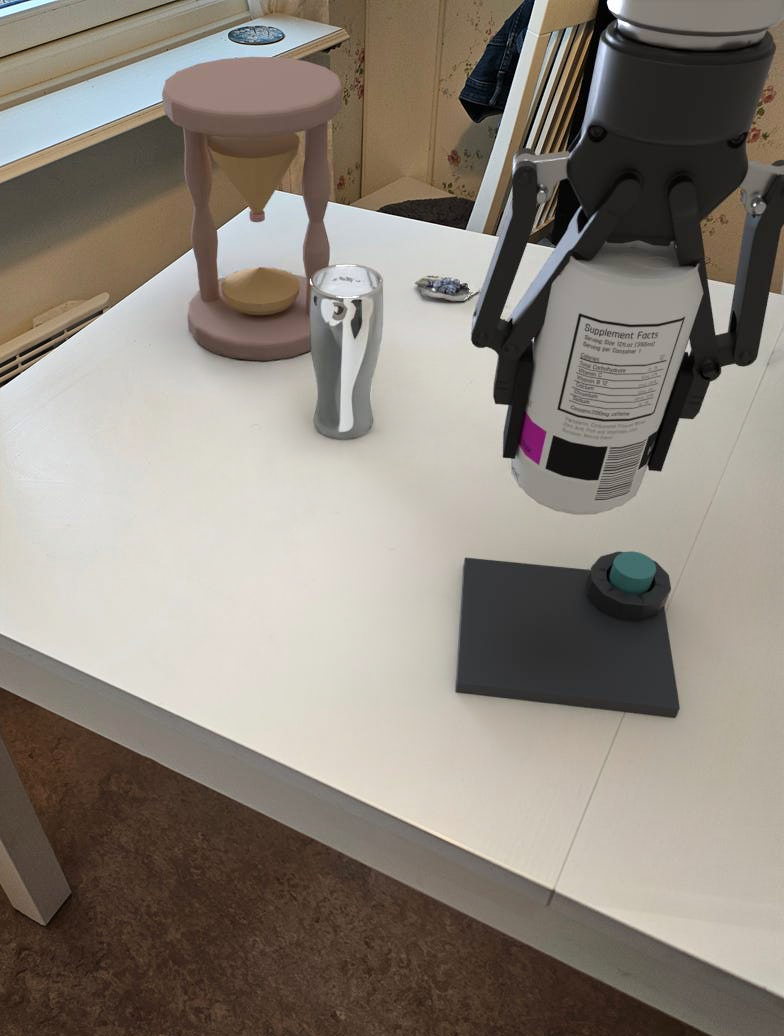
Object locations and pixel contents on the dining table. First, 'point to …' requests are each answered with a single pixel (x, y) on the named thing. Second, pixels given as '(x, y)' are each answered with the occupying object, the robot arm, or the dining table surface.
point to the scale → (565, 637)
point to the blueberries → (443, 288)
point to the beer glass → (345, 346)
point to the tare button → (632, 572)
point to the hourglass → (254, 191)
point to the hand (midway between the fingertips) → (580, 451)
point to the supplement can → (604, 375)
